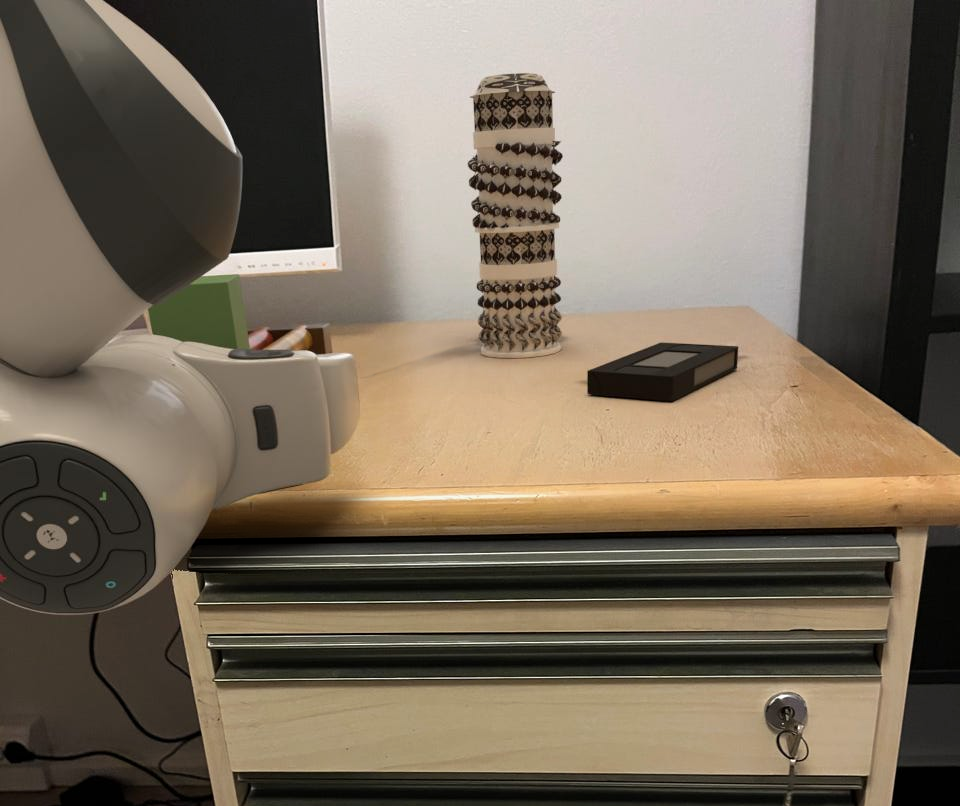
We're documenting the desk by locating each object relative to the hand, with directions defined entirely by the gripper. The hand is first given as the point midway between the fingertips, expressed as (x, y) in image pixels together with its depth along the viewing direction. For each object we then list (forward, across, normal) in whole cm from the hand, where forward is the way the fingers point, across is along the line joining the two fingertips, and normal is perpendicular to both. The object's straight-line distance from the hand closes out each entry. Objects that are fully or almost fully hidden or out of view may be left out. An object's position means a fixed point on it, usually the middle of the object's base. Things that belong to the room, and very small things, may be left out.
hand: (199, 377), depth 62 cm
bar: (+2, 0, -6) cm, 7 cm away
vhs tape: (+21, +35, -7) cm, 41 cm away
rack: (+24, +1, -6) cm, 25 cm away
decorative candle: (+41, +25, -7) cm, 49 cm away
